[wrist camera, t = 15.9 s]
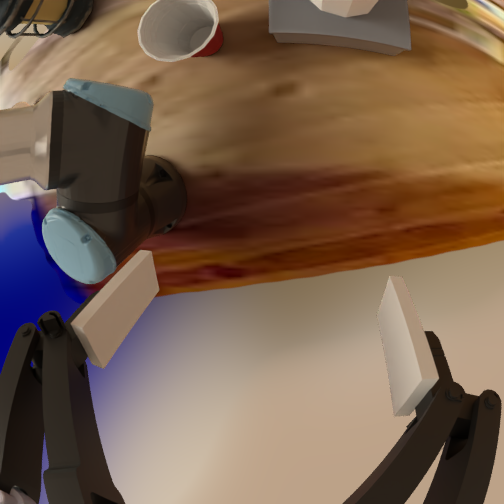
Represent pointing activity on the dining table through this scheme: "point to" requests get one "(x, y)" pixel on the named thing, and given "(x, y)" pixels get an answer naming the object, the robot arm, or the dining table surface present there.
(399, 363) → the robot arm
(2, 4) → the lantern
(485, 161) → the dining table surface
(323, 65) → the dining table surface
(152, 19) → the plastic cup
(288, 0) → the grey box
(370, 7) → the toilet paper
